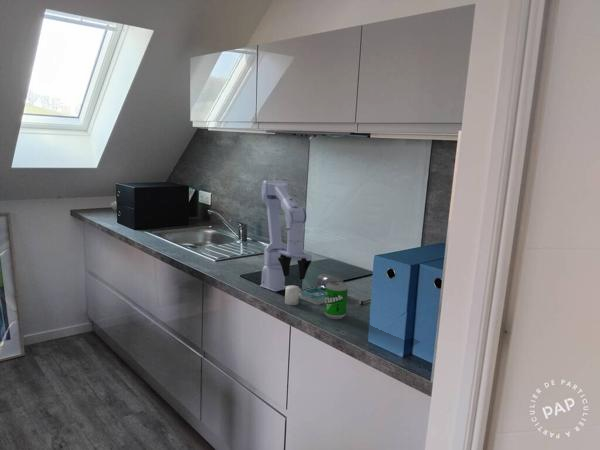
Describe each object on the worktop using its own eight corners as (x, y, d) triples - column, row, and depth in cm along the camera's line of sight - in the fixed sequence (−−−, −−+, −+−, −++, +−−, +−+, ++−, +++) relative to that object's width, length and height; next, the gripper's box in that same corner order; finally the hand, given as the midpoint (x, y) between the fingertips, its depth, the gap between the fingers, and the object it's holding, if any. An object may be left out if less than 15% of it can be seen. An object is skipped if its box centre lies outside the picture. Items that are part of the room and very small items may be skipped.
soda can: (332, 310, 164) (334, 278, 162) (349, 316, 159) (352, 283, 157) (319, 315, 158) (321, 282, 156) (336, 321, 153) (339, 287, 151)
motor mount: (295, 297, 177) (296, 278, 175) (325, 288, 190) (327, 271, 188) (319, 305, 168) (320, 286, 167) (348, 296, 182) (350, 278, 180)
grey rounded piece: (282, 302, 170) (282, 286, 169) (294, 299, 175) (295, 283, 174) (291, 306, 166) (292, 290, 165) (304, 302, 171) (305, 287, 170)
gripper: (273, 239, 168) (272, 276, 170) (303, 243, 159) (302, 282, 161) (285, 238, 174) (284, 273, 175) (315, 242, 165) (314, 279, 166)
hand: (294, 277), depth 168 cm, fingers open, 7 cm apart
